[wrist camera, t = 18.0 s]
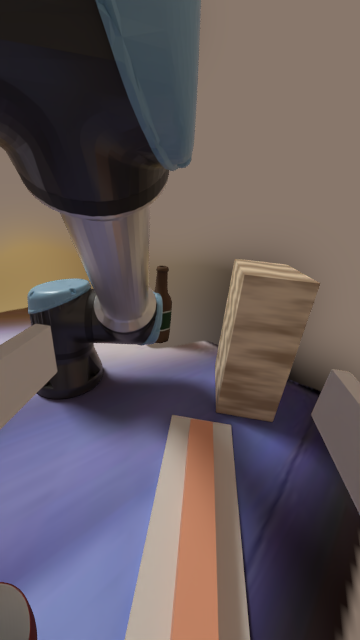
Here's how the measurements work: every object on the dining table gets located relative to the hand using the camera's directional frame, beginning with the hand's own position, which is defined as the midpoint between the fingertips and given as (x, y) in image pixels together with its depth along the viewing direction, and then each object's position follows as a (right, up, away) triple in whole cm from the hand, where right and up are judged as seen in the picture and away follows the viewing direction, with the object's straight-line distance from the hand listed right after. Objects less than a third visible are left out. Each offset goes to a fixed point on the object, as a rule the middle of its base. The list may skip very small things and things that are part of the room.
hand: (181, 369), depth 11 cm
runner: (+2, -24, +23) cm, 33 cm away
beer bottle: (-7, -4, +67) cm, 68 cm away
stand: (+15, -15, +47) cm, 51 cm away
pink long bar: (+2, -25, +19) cm, 31 cm away
